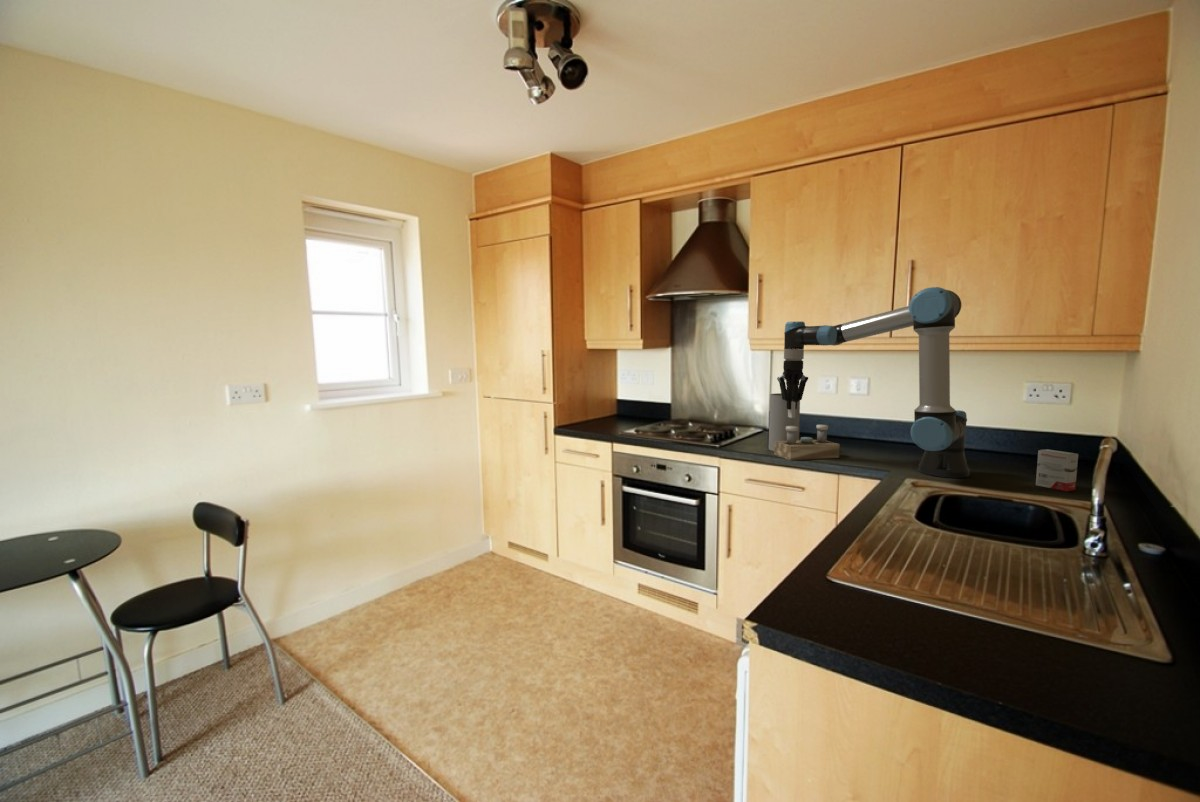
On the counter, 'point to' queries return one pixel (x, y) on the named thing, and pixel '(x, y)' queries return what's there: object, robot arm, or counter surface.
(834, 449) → the mount
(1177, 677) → the counter surface
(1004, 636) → the counter surface
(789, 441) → the knob left
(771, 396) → the cylinder vase
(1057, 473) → the ink box
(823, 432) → the knob right
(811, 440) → the knob middle
